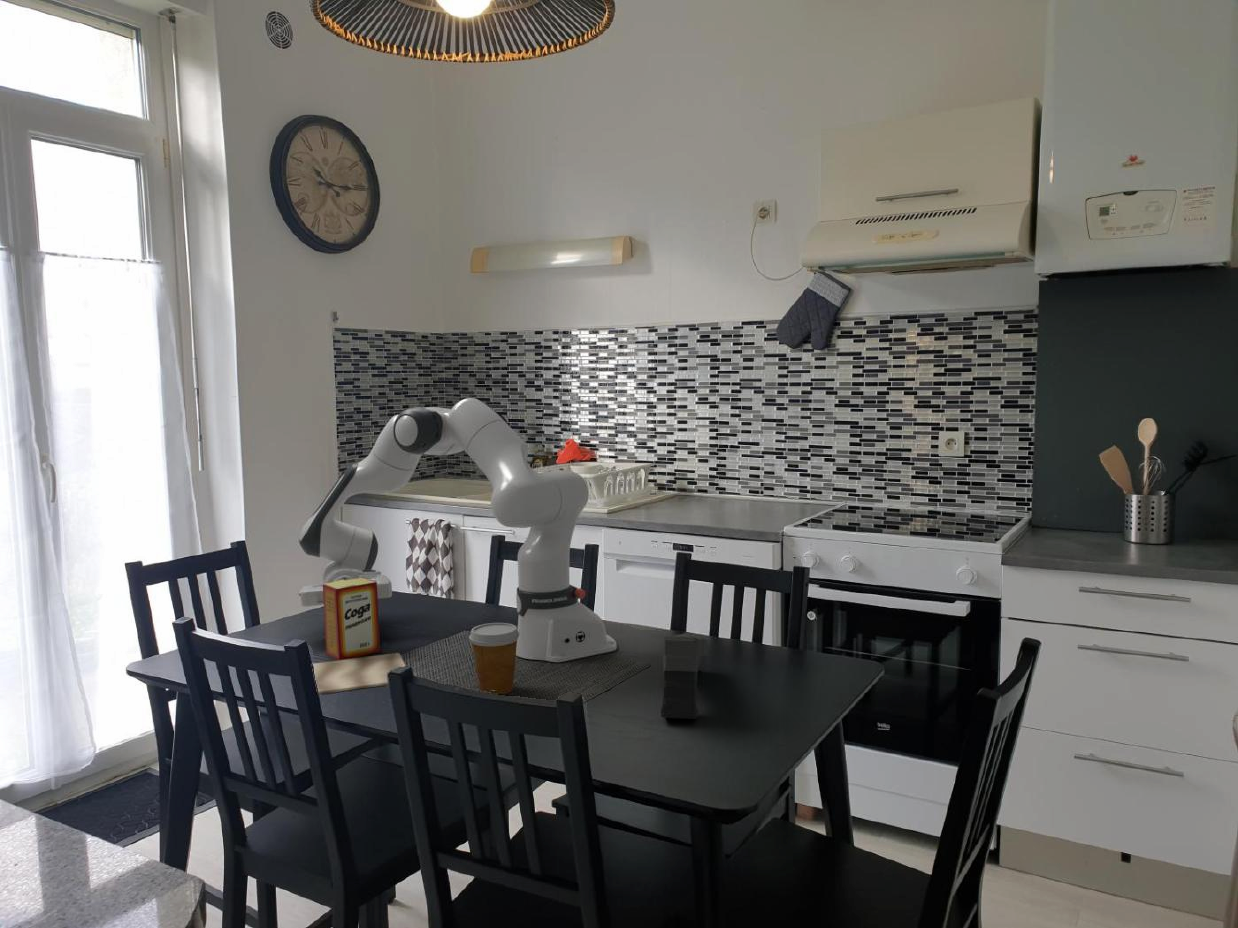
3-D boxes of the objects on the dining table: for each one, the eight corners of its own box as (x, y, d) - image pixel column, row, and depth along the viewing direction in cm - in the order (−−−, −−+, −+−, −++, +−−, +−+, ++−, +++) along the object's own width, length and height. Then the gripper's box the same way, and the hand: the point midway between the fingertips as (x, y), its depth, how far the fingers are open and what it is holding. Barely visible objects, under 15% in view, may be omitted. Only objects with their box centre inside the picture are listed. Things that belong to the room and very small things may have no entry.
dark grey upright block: (658, 718, 157) (660, 628, 161) (675, 710, 186) (676, 634, 189) (697, 719, 156) (698, 629, 159) (708, 711, 185) (709, 635, 188)
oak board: (398, 654, 202) (398, 652, 201) (412, 681, 184) (412, 678, 184) (311, 666, 195) (311, 663, 195) (317, 694, 177) (317, 691, 177)
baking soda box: (366, 645, 209) (363, 575, 208) (380, 651, 205) (376, 580, 203) (326, 654, 203) (322, 582, 202) (339, 660, 198) (335, 587, 197)
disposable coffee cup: (505, 678, 184) (503, 619, 183) (530, 690, 177) (528, 629, 176) (462, 688, 179) (460, 628, 178) (486, 702, 171) (483, 638, 170)
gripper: (296, 578, 216) (299, 590, 204) (386, 569, 224) (394, 580, 211) (298, 604, 217) (301, 618, 204) (387, 594, 224) (395, 607, 211)
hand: (349, 599), depth 208 cm, fingers closed
